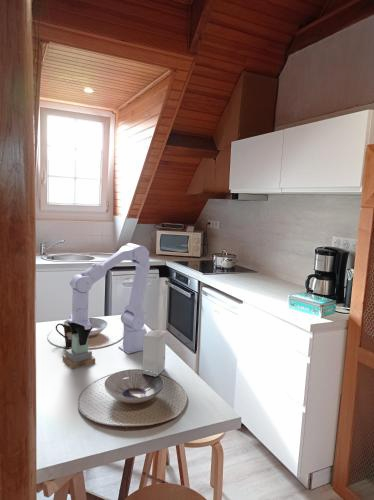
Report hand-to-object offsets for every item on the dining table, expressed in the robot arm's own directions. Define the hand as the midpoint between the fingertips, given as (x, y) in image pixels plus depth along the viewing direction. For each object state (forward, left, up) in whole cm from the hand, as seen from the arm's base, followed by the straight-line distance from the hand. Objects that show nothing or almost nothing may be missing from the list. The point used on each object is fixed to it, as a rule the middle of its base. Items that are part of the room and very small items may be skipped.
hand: (79, 342), depth 138 cm
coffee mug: (-4, -17, -8) cm, 19 cm away
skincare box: (-19, +22, -8) cm, 30 cm away
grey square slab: (0, 0, -6) cm, 6 cm away
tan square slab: (0, 0, -8) cm, 8 cm away
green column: (0, 0, -3) cm, 3 cm away
